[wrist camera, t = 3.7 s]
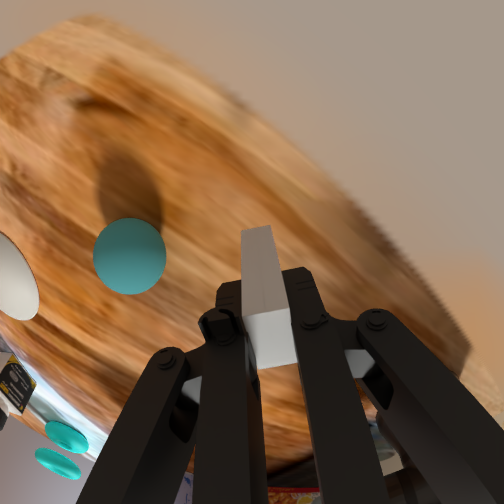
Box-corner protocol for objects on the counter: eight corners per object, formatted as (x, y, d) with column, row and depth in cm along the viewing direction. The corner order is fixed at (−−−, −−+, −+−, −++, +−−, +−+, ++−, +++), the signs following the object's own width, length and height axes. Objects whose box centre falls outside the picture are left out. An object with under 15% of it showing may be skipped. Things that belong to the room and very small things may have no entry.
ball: (160, 199, 21) (137, 228, 16) (182, 263, 23) (167, 304, 18) (101, 216, 21) (68, 247, 16) (124, 274, 23) (101, 313, 19)
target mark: (8, 216, 20) (6, 217, 20) (56, 315, 26) (55, 316, 25) (-38, 242, 21) (-39, 243, 21) (3, 321, 26) (2, 322, 26)
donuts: (40, 466, 33) (26, 451, 28) (53, 431, 42) (42, 412, 37) (83, 485, 34) (74, 474, 30) (92, 448, 43) (87, 431, 39)
